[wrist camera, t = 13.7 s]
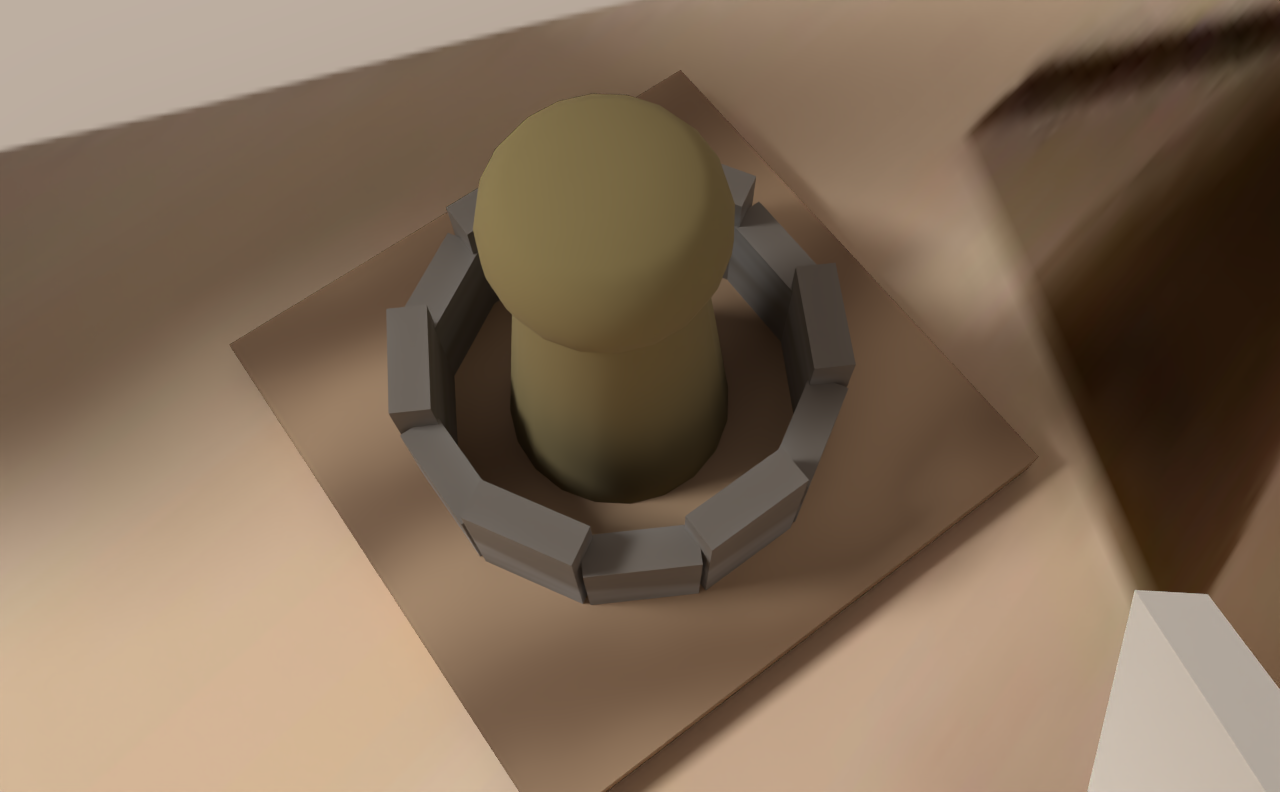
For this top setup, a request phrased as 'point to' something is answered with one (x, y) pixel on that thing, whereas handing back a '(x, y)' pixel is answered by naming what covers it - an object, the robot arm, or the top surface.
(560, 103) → the cork
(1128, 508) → the top surface
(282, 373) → the collar
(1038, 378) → the top surface
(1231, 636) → the robot arm
